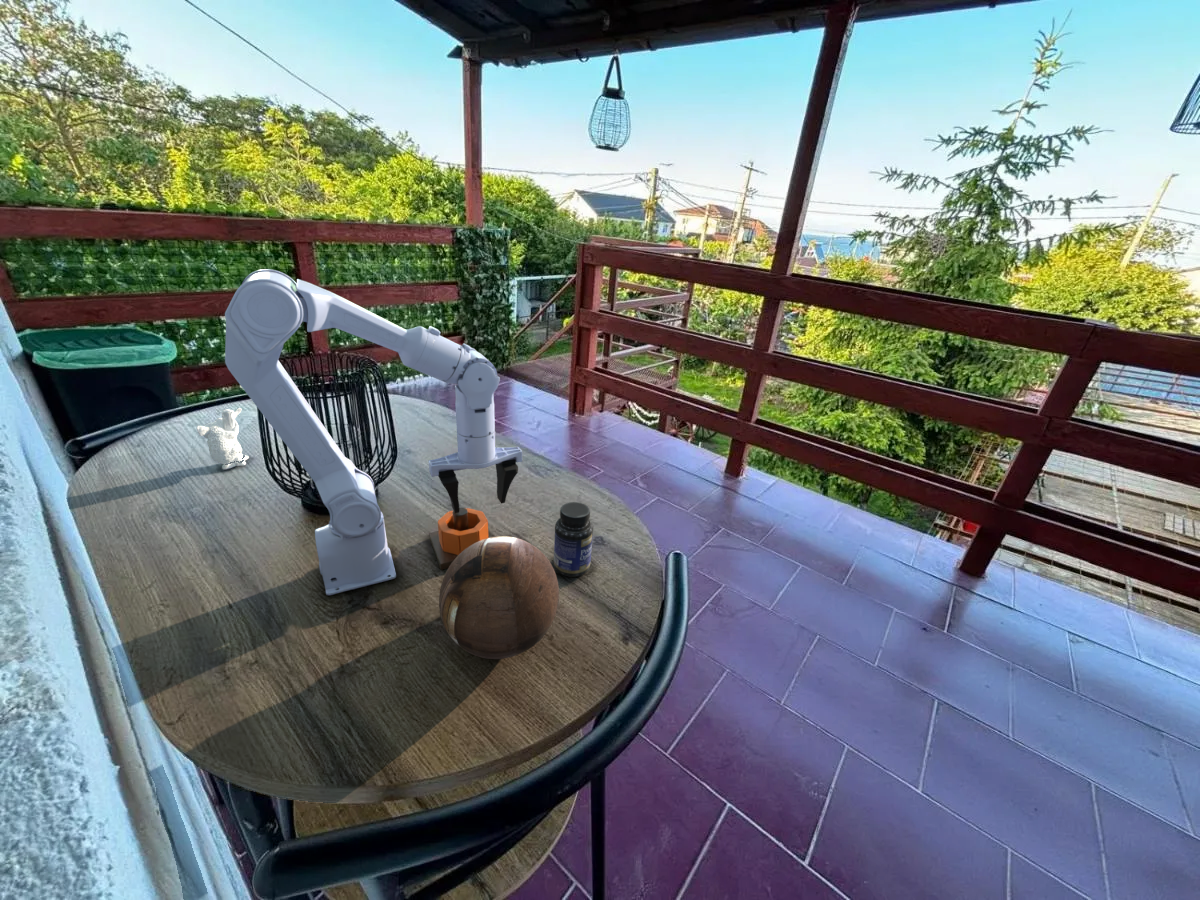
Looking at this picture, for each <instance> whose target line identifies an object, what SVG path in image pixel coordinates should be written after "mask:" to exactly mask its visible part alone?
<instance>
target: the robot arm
mask: <svg viewBox="0 0 1200 900" xmlns="http://www.w3.org/2000/svg"><path fill="white" fill-rule="evenodd" d="M224 320H225V344H224V345H225V346H224V347H225V349H224V350H225V351H224V361H225V366H226V367H227V369H228V371H229V373H231V375H232V376H233V378H235V380H236V382H237V383H238V384H239V386H241V388H242V390H244V392H245V393H246V395H247V396H248V397H249V399H250V400H251V401H252V402H253V404H254V405H255V407H256V408H257V409H258V410H259V412H260V413H261V414H262V415H263V417H264V418H265V419H266V421H267V422H268V423H269V425H270V426H271V427H272V428H273V430H274V431H275V433H276V434H277V435H278V436H279V438H280V439H281V440H282V442H283V443H284V444H285V445H286V447H287V448H288V449H289V451H290V452H291V453H292V454H293V457H295V459H296V460H297V461H298V463H299V464H300V465H301V467H302V468H303V469H304V470H305V472H306V473H307V474H308V475H309V477H310V478H311V479H312V481H313V482H314V484H315V487H316V489H317V491H318V494H319V496H320V499H321V502H322V503H323V505H324V507H326V508H327V510H328V513H329V522H328V524H326V525H323V526H320V527H318V528H315V529H314V536H315V546H316V552H317V557H318V568H319V573H320V575H321V576H322V580H323V584H324V588H325V594H326V596H333V595H336V594H340V593H345V592H348V591H352V590H356V589H360V588H364V587H367V586H368V587H369V586H371V585H375V584H379V583H382V582H387V581H392V580H394V579H396V578H397V572H396V569H395V565H394V561H393V556H392V552H391V549H390V547H389V546H388V539H387V531H386V525H385V518H384V513H383V512H382V510H381V508H380V505H379V503H378V500H377V496H376V491H375V483H374V480H373V478H372V477H371V476H370V475H369V474H368V473H367V472H365V471H362V470H360V469H359V468H358V467H356V465H355V464H354V462H353V461H352V460H351V459H349V458H348V457H346V456H345V455H344V453H343V452H342V451H341V448H340V447H339V445H338V444H337V442H336V441H335V440H334V439H333V437H332V436H331V434H330V433H329V432H328V430H327V428H326V427H325V425H324V424H323V423H322V421H321V419H320V418H319V417H318V415H317V414H316V412H315V411H314V410H313V408H312V407H311V405H310V403H308V401H307V400H306V398H305V396H304V395H303V394H302V392H301V391H300V390H299V388H298V386H297V385H296V383H295V382H294V381H293V379H292V377H291V376H290V374H289V373H288V372H287V371H286V369H285V368H284V366H283V365H282V363H281V362H280V360H279V359H280V357H281V354H282V351H283V349H284V345H285V343H286V342H287V341H288V340H289V339H290V338H291V337H292V336H293V335H294V334H295V333H296V332H297V331H298V329H299V328H300V327H301V325H302V324H303V322H304V323H306V331H307V332H308V333H312V332H318V331H322V330H329V329H338V330H340V331H342V332H345V333H348V334H350V335H353V336H355V337H357V338H360V339H363V340H365V341H368V342H371V343H373V344H376V345H378V346H381V347H383V348H386V349H388V350H391V351H394V352H395V353H397V354H398V355H399V358H400V361H401V363H402V365H403V366H405V367H407V368H410V369H412V370H414V371H417V372H420V373H422V374H423V375H426V376H430V377H432V378H434V379H436V380H438V381H441V382H443V383H446V384H454V393H455V394H454V395H455V403H454V407H455V421H456V422H455V423H456V441H457V442H456V443H457V452H453V453H450V454H447V455H445V456H441V457H438V458H434V459H429V460H428V461H427V462H428V472H429V474H430V476H431V477H432V478H434V477H438V479H439V481H440V483H441V484H442V486H443V487H444V489H445V490H446V492H447V493H448V497H449V500H450V504H451V508H452V511H453V510H454V512H455V513H459V508H460V503H459V502H460V501H459V483H460V481H459V479H458V478H457V474H456V473H455V472H456V471H458V472H459V471H462V470H480V469H485V468H489V467H491V466H495V472H496V496H497V500H498V501H499V503H500V504H501V505H502V504H505V503H506V499H507V496H508V492H509V489H510V487H511V485H512V483H513V480H514V479H515V478H516V476H517V475H518V473H519V466H518V464H517V463H522V462H523V450H522V449H521V448H520V447H519V446H511V447H496V426H495V425H496V423H495V398H494V396H495V395H494V394H495V392H496V390H497V389H498V387H499V385H500V381H501V377H500V376H498V371H497V368H496V367H495V366H494V364H493V363H492V362H491V361H490V360H489V359H487V357H485V356H484V355H483V354H482V353H481V352H479V351H477V350H476V349H475V348H474V347H471V345H469V344H466V343H462V345H461V344H459V343H456V342H455V341H452V340H451V339H448V338H447V337H444V336H443V335H441V331H440V330H439V329H438V328H436V327H433V326H431V325H429V327H428V329H427V328H426V327H423V326H422V325H418V326H415V327H412V328H406V329H405V328H403V327H401V326H399V325H398V324H395V323H393V322H392V321H389V320H387V319H386V318H384V317H381V316H380V315H377V314H376V313H374V312H371V311H370V310H368V309H366V308H364V307H362V306H360V305H358V304H356V303H354V302H352V301H350V300H348V299H346V298H344V297H343V296H340V295H338V294H336V293H334V292H332V291H330V290H327V289H325V288H323V287H320V286H318V285H316V284H313V283H311V282H308V281H306V280H302V279H299V278H297V279H296V281H295V280H294V279H293V278H292V277H291V276H289V275H288V274H286V273H284V272H282V271H279V270H276V269H270V268H264V269H263V268H262V269H258V270H254V271H252V272H251V273H249V274H247V276H246V277H245V278H244V279H243V281H242V283H241V285H240V286H239V287H238V288H237V289H236V291H235V292H234V295H233V296H232V298H231V300H230V302H229V304H228V305H227V308H226V310H225V312H224Z"/></svg>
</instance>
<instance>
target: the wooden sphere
mask: <svg viewBox="0 0 1200 900" xmlns="http://www.w3.org/2000/svg"><path fill="white" fill-rule="evenodd" d="M559 600H560V587H559V581H558V577H557V573H556V570H555V568H554V566H553V565H552V563H551V561H550V560H549V559H548V556H546V554H544V552H542V551H541V550H540V549H539V548H538V547H537V546H535V545H534V544H532V543H530V542H528V541H526V540H524V539H521V538H518V537H515V536H508V535H507V536H506V535H503V536H502V535H500V536H492V537H489V538H487V539H484V540H481V541H478V542H476V543H474V544H472V545H471V546H469V547H468V548H466V549H465V550H464V551H462V552H461V553H460V554H459V555H458V556H457V557H456V558H455V559H454V561H453V562H452V563H451V565H450V566H449V568H447V569H446V571H445V574H444V576H443V578H442V581H441V585H440V589H439V594H438V607H439V613H440V618H441V621H442V624H443V626H444V629H445V630H446V633H447V634H448V635H449V637H450V639H452V641H453V642H454V643H455V644H456V645H457V646H458V647H460V648H461V650H462V649H463V650H464V651H465V652H467V653H469V654H470V655H474V656H476V657H479V658H483V659H488V660H504V659H509V658H512V657H513V658H514V657H515V656H518V655H521V654H522V653H524V652H526V651H528V650H529V649H531V648H533V647H534V646H535V645H536V644H537V643H539V642H540V641H541V640H542V639H543V638H544V636H546V634H547V633H548V631H549V630H550V628H551V626H552V624H553V623H554V620H555V618H556V615H557V612H558V608H559Z"/></svg>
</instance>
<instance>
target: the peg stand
mask: <svg viewBox="0 0 1200 900" xmlns="http://www.w3.org/2000/svg"><path fill="white" fill-rule="evenodd" d="M465 508H466V507H459V513H455V512H454V510H453V509H452V511H453V512H452V514H453V528H454V530H458V531H463V530H468V529H469V528H468V511H467V508H466V509H465ZM428 538H429V542H430V543H431V546H432V549H433V552H434V555H435V557H436V560H437V562H438V565H439V568H440V570H442V571H443V570H447V569H448V568H449V566H450V565H451V563H452V562H453V561H454V559H455V558H456V557H457V556H458V555H456V554H452V553H448V552H444V551H443V549H442V547H441V544H440V541H439V531H438V530H437V531H432V532H429V533H428ZM488 538H490V537H489V535H488Z"/></svg>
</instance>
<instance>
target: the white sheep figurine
mask: <svg viewBox="0 0 1200 900" xmlns="http://www.w3.org/2000/svg"><path fill="white" fill-rule="evenodd" d="M242 410H243V409H242V408H241V407H238V408H236V409H235V410H233V409H228V408H226V409H223V410H222V411H220V412H221V417H218V418H216V419H215V420H214V421H211V422H207V423H205V424H203V425H200V424H199V425H197V427H196V431H197V433H198V435H199V436H200V437H202V438H203V437H204V439H206V443H207V445H208V452H209V455H210V458H211V460H212V461H213V462H215V463H217V464H220V465H221V469H222V470H229V469H231V468H232V469H233V468H234V467H243V466H246V464H247V462H246V461H247V460H248V459H249V458H250V456H248V455H246V454H243V448H242V445H241V444H240V442H239V441H238V435H239V433H240V432H239V430H240V427H239V423H238V422H237V420H236V418H237V417H238V416H239V414H240V413H241V412H242ZM243 455H245V457H244V458H243ZM242 458H243V459H242ZM242 460H244V461H243V462H242V463H238V462H236V461H239V462H240V461H242ZM234 461H235V463H231V464H228V465H225V464H226V463H230V462H234Z"/></svg>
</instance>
